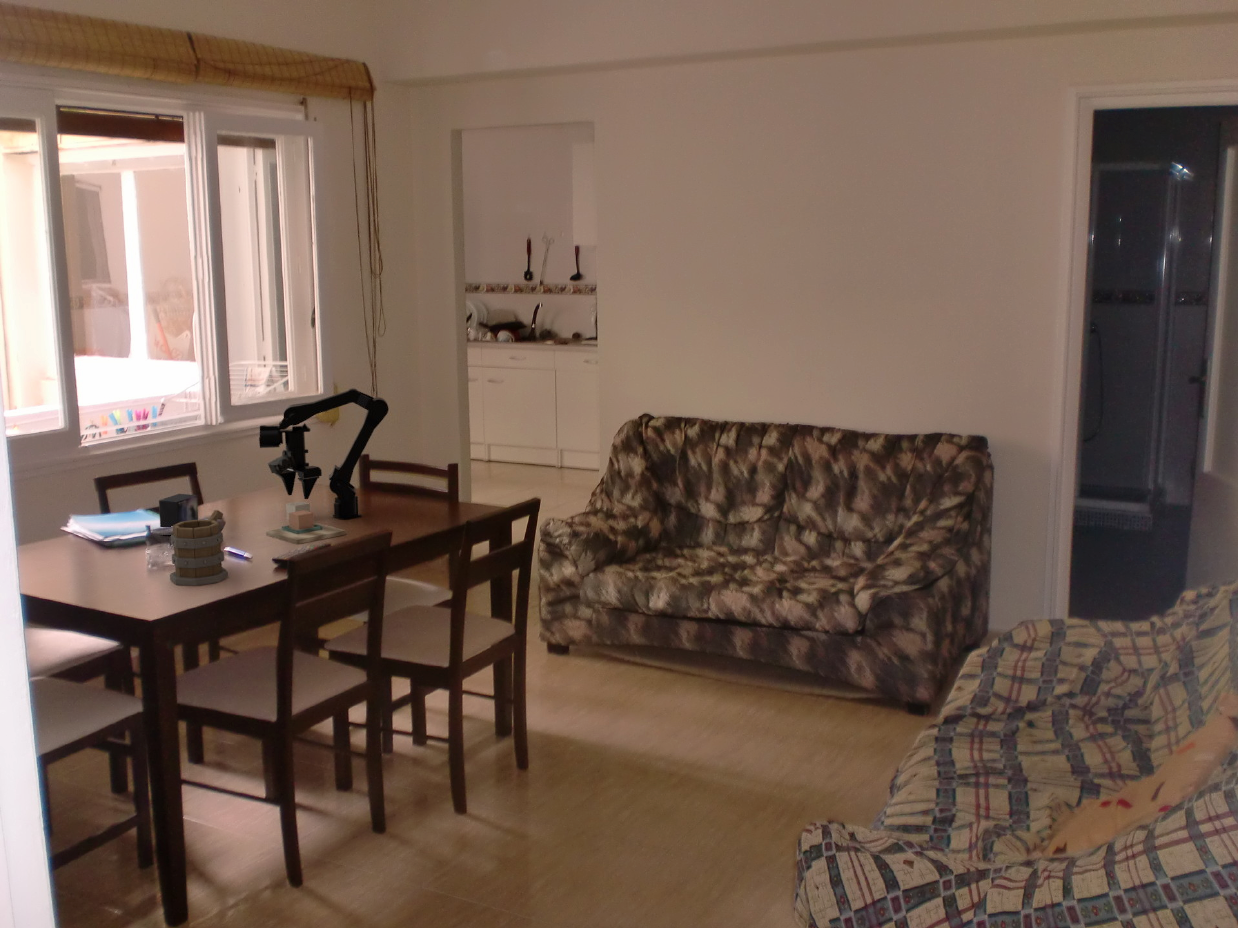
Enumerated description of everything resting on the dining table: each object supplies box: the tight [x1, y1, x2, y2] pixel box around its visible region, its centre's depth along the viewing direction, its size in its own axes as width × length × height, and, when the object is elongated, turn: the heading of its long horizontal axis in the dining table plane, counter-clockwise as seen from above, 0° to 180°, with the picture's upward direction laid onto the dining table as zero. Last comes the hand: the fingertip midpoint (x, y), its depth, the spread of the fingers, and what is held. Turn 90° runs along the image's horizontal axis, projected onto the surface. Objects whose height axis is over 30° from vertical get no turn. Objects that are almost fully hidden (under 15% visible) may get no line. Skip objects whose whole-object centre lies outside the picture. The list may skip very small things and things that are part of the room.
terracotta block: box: [288, 510, 315, 530], centre depth 333 cm, size 5×5×5 cm
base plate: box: [265, 521, 347, 545], centre depth 332 cm, size 16×16×2 cm
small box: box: [158, 493, 199, 528], centre depth 335 cm, size 11×6×10 cm, turn 168°
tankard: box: [169, 509, 229, 587], centre depth 288 cm, size 20×13×15 cm, turn 171°
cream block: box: [285, 501, 311, 521], centre depth 353 cm, size 5×5×5 cm
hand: (298, 497), depth 352 cm, fingers open, 9 cm apart
